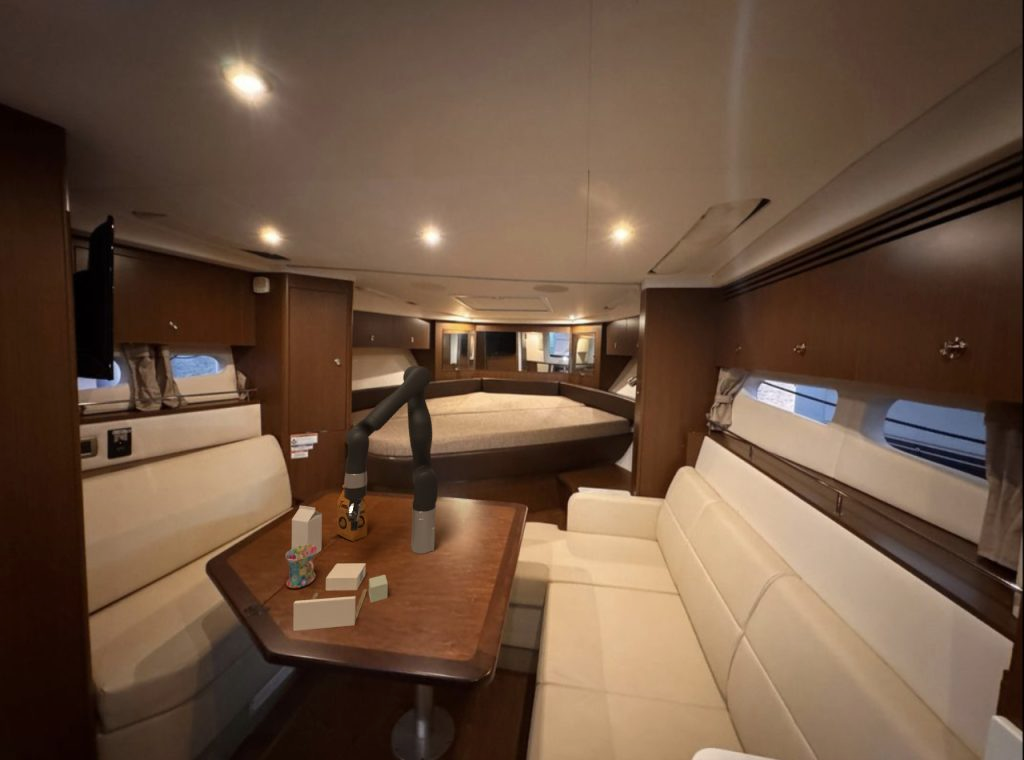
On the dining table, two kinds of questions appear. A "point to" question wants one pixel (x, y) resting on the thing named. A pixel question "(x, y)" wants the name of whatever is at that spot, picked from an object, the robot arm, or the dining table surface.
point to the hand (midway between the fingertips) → (354, 529)
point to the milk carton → (307, 528)
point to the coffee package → (345, 525)
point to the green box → (378, 588)
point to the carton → (346, 576)
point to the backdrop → (324, 613)
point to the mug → (300, 565)
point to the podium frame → (357, 605)
